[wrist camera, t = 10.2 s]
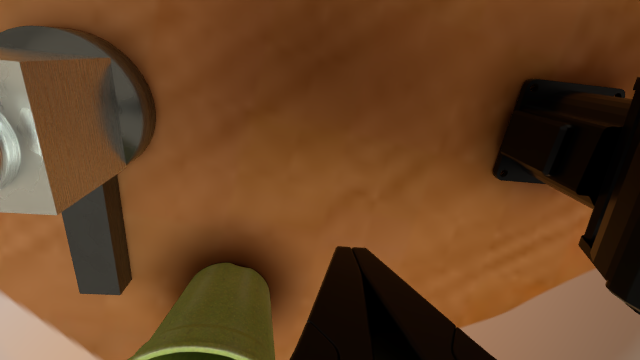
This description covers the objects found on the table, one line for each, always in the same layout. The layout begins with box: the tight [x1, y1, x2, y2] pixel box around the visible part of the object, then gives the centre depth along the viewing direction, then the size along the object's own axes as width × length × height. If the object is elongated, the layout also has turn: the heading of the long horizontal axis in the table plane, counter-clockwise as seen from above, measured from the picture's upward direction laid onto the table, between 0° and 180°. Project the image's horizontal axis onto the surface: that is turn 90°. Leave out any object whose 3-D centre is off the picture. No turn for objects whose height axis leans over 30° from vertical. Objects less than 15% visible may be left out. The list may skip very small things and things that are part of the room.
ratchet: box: [0, 26, 156, 295], centre depth 17 cm, size 16×8×5 cm, turn 173°
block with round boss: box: [0, 47, 126, 215], centre depth 13 cm, size 6×6×7 cm
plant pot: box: [128, 263, 275, 360], centre depth 20 cm, size 9×9×9 cm
